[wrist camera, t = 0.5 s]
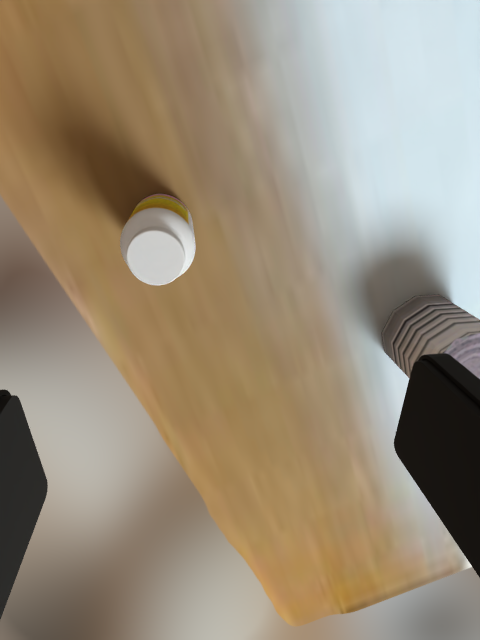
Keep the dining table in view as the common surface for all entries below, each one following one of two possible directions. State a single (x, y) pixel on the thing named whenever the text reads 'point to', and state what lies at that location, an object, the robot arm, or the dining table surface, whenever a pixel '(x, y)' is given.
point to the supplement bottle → (158, 239)
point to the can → (432, 333)
